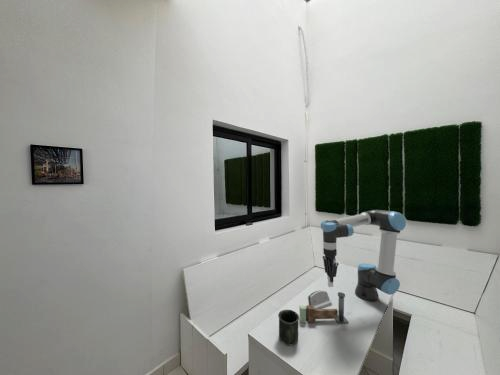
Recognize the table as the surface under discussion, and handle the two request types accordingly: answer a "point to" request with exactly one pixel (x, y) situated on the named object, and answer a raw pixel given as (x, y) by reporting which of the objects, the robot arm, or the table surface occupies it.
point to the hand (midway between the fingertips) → (330, 286)
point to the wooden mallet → (320, 314)
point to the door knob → (341, 310)
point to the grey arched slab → (319, 299)
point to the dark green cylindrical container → (288, 326)
